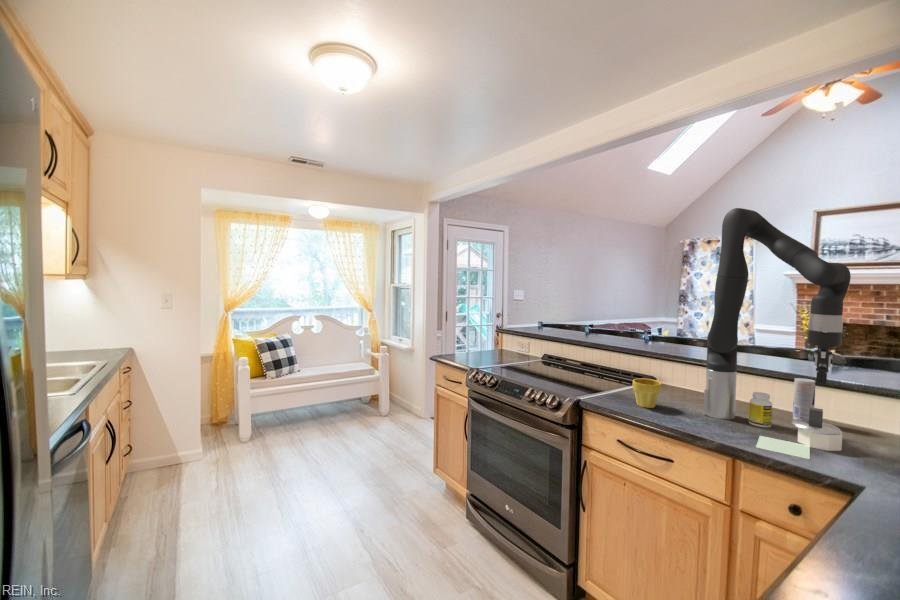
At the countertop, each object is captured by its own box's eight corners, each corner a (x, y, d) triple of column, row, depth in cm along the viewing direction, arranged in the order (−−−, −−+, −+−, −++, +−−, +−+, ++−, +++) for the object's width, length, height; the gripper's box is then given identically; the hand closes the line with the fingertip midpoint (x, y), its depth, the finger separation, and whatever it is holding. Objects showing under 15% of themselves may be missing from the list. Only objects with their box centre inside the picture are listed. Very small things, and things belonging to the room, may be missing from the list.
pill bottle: (765, 429, 135) (766, 397, 135) (745, 423, 141) (746, 392, 140) (775, 426, 138) (776, 394, 137) (754, 420, 143) (755, 390, 143)
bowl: (797, 445, 122) (797, 429, 122) (798, 436, 129) (798, 420, 129) (842, 454, 116) (842, 437, 115) (840, 444, 123) (841, 428, 123)
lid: (790, 428, 123) (791, 409, 122) (792, 419, 131) (793, 401, 130) (841, 438, 115) (842, 418, 115) (839, 427, 123) (840, 408, 123)
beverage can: (817, 424, 140) (819, 381, 139) (799, 423, 141) (800, 381, 140) (806, 419, 145) (808, 378, 144) (789, 418, 146) (790, 377, 146)
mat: (755, 448, 120) (755, 447, 120) (759, 436, 129) (759, 435, 129) (809, 460, 112) (809, 459, 112) (809, 447, 121) (810, 445, 121)
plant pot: (664, 410, 155) (665, 385, 155) (636, 408, 157) (636, 384, 156) (655, 402, 165) (656, 378, 165) (629, 401, 167) (629, 377, 167)
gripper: (808, 326, 128) (805, 376, 129) (807, 330, 118) (803, 384, 119) (841, 328, 123) (837, 380, 124) (843, 333, 113) (838, 390, 114)
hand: (821, 382), depth 121 cm, fingers open, 8 cm apart
